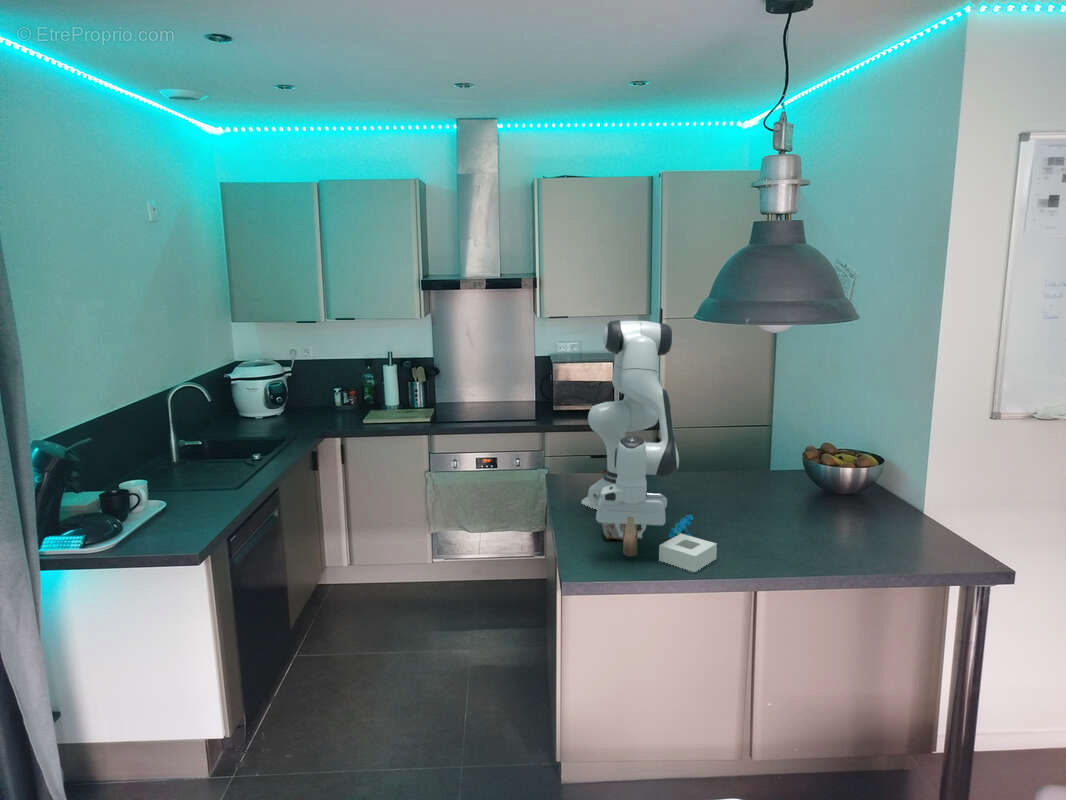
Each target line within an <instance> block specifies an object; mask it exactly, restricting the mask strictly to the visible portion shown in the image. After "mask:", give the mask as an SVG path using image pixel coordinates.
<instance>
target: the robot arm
mask: <svg viewBox="0 0 1066 800" xmlns="http://www.w3.org/2000/svg"><path fill="white" fill-rule="evenodd" d="M602 341H603V344H604V348H605V349H606V350H607V351H608V352H611V353H613V354H615V355H614V362H613V369H612V370H613V371H612V377H611V378H612V379H611V383H612V387H613V388H614V390H616V391H617V392H619V393H621V394H623V399H622V400H614V401H604V402H601V403H598V404H594V405H593V406H592V407H591V408H590V410H589V412H588V414H587V415H588V416H587V421H588V424H589V427H590V428H591V430H592V431H593V432H594V433H596V434H597V435H599V437H600V438H601V439H602V441H603V443H604V445H605V448H606V459H607V460H606V462H607V463H606V464H607V466H606V468H605V469H603V470H601V471H600V472H601V473H600V474H601V475H602V474H603V477H602V478H601V479H599V480H598V481H597V482H595V483H594V484H592V485H591V486H590V487H589V489H588V491H587V492H588V493H587V496H586V497H585V498H583V499H582V500H581V502H580V503H581V505H582V504H583V505H582V506H584V505H585V506H584V507H587V506H588V507H587V508H589V507H590V509H592V508H593V509H592V510H594V509H596V510H597V511H596V510H595V511H596V513H595V514H596V515H595V520H596V521H597V523H599V524H602V523H615V527H616V529H617V531H618V532H619V537H624V530H621V529H620V524H627V522H628V519H627V517H632V518H634V524H637V525H638V526H639V525H641V528H640V530H637V539H643V533H644V532H645V531H646V529H647V526H664V525H665V524H666V508H667V506H668V498H667V496H665V495H663V493H653V492H651V493H650V492H647V485H648V483H647V482H648V481H647V478H646V475H649V476H650V475H651V476H658V477H663V478H669V477H670V476H672V475H674V474H675V473H676V472H677V471H678V469H679V467H680V466H679V464H680V457H679V455H680V454H679V451H678V448H677V445H676V439H675V438H676V437H675V431H674V430H675V429H674V423H673V413H672V408H671V401H670V396H669V393H668V391H667V390H666V389H664V388H663V387H662V385H661V383H660V380H659V356H665V355H667V354H668V353H669V352H670V350H671V349H672V346H673V343H674V334H673V330H672V328H671V326H670V325H669V324H666V323H663V322H654V321H649V320H620V319H617V320H610V321H609V322H607V324H606V326H605V328H604V330H603V333H602ZM658 422H659V423H658ZM657 423H658V424H659V430H660V437H661V439H660V441H659V442H648V441H645V440H644V438H642V437H640V436H635V435H628V436H626V432H635V431H637V432H638V431H644V430H646V429H649V428H652V427H654V426H656V425H657Z"/></svg>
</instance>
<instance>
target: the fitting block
mask: <svg viewBox="0 0 1066 800" xmlns="http://www.w3.org/2000/svg"><path fill="white" fill-rule="evenodd" d="M692 536H693V535H692ZM692 536H688V535H686V534H679V535H677V536H676V537H674V538H672V539H670V538H669V539H668V540H666V541H664V542H663V543H661V544H659V545H658V562H660V561H662V562H661V563H663V562H665V563H664V564H666V563H668V564H667V565H669V564H671V565H670V566H672V565H674V566H673V567H675V566H677V567H676V568H678V567H679V568H678V569H682V568H683V569H682V570H685V569H686V570H685V571H688V572H691V573H694V572H696V573H697V572H699V571H701V570H702V569H703V567H704V566H705V567H707V566H709V565H710V564H712V563H713V562H715V561H716V560H717V549H718V548H717V546H718V543H716V542H714V541H713V542H712V541H709V540H705V539H701V538H698V537H694V536H693V537H692ZM714 560H715V561H714ZM712 561H713V562H712ZM711 562H712V563H711ZM709 563H710V564H709ZM706 565H707V566H706ZM705 567H704V568H705ZM701 568H702V569H701ZM698 570H699V571H698Z"/></svg>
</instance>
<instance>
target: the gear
mask: <svg viewBox="0 0 1066 800" xmlns="http://www.w3.org/2000/svg"><path fill="white" fill-rule="evenodd" d="M693 520H694V517H693V515H692V514H691V513H690V514H689V515H688V514H687V515H685V516H684V517H681V518H680V521H679V522H676V523H675V524H674V525H675V527H672V528H671V529H670V532H669V533H668V538H669V540H670V539H672V538H674V537H676V536H677V535H679V534H685V535H688V536H692V537H694V536H693V535H692V534H691V533H690V532H689V531H688V529H687V526H691V524H692V521H693Z"/></svg>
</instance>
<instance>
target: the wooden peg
mask: <svg viewBox="0 0 1066 800" xmlns="http://www.w3.org/2000/svg"><path fill="white" fill-rule="evenodd" d="M627 519H628V522H627V524H624V537H623V540H622V542H623V543H622V544H623V546H622V547H623V550H622V551H623V555H625V556H627V557H635V556H637V555H638V554H637V553H638V538H637V531H638V524H634V518H632V517H627Z"/></svg>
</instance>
